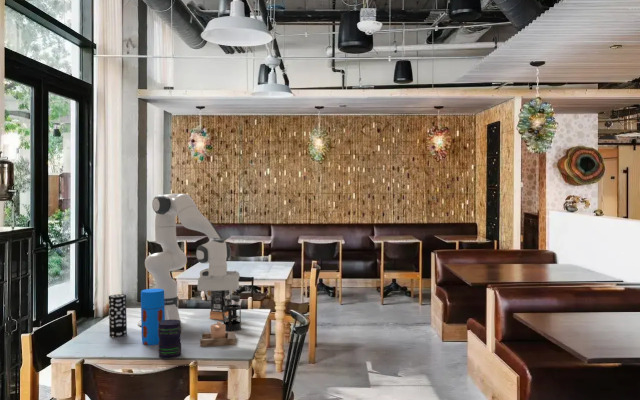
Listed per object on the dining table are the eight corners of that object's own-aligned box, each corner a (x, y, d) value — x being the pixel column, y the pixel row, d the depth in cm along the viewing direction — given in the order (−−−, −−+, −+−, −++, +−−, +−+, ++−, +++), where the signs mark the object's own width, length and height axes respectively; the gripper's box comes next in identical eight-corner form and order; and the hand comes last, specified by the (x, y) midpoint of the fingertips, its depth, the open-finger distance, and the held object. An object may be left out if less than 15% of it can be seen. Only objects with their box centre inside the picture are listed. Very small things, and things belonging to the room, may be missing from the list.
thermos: (152, 346, 278) (151, 293, 277) (137, 343, 284) (135, 291, 283) (169, 340, 287) (168, 289, 286) (154, 338, 293) (153, 287, 292)
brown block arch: (200, 346, 277) (200, 340, 277) (202, 338, 291) (202, 332, 291) (234, 344, 279) (234, 338, 279) (235, 337, 293) (235, 331, 293)
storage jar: (153, 356, 261) (153, 323, 261) (170, 351, 270) (169, 318, 269) (169, 360, 256) (169, 325, 256) (186, 354, 264) (185, 321, 264)
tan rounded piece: (225, 343, 281) (225, 327, 281) (210, 344, 280) (210, 327, 280) (226, 336, 294) (226, 320, 294) (212, 337, 293) (211, 321, 293)
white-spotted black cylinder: (130, 333, 302) (129, 294, 301) (119, 338, 294) (118, 297, 293) (116, 332, 304) (115, 293, 304) (105, 336, 296) (105, 297, 296)
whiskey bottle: (234, 316, 337) (233, 260, 336) (223, 320, 329) (222, 263, 328) (219, 315, 342) (218, 259, 341) (208, 318, 333) (207, 262, 333)
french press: (238, 331, 303) (238, 287, 302) (220, 331, 304) (220, 287, 303) (243, 326, 315) (243, 283, 314) (226, 326, 316) (225, 283, 315)
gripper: (239, 269, 295) (240, 297, 296) (197, 271, 293) (198, 298, 293) (239, 271, 289) (239, 299, 289) (196, 272, 287) (197, 301, 287)
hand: (218, 299), depth 291 cm, fingers open, 8 cm apart
